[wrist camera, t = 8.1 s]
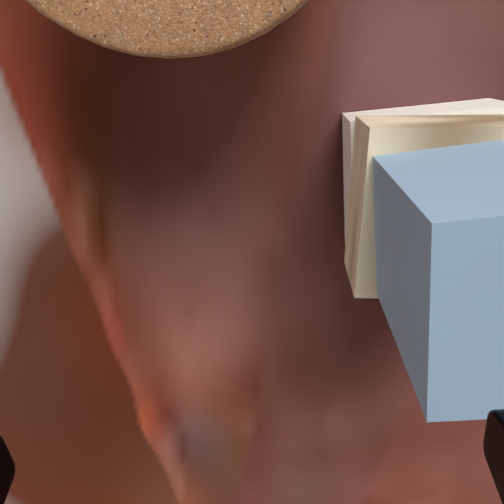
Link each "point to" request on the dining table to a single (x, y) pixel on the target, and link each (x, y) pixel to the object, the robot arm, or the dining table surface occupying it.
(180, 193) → the dining table surface
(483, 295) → the blue block
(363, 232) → the slab top
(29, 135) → the dining table surface
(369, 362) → the dining table surface
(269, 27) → the lidded jar
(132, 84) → the dining table surface
